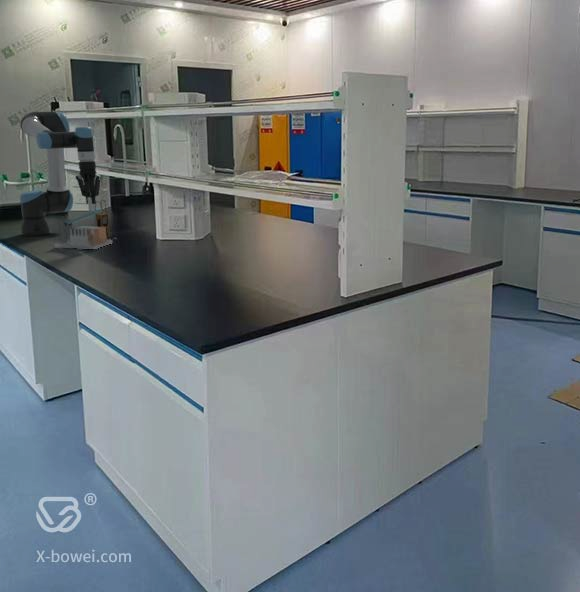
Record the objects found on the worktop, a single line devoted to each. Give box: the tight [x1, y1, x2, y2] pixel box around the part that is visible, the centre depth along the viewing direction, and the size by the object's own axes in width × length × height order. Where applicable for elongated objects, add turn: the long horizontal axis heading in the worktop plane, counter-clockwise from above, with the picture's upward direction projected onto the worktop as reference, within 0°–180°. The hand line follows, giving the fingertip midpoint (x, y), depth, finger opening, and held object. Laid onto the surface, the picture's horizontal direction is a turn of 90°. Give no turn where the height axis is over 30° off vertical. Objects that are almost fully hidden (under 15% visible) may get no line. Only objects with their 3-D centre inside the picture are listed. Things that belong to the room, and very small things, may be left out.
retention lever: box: [64, 208, 102, 227], centre depth 303 cm, size 21×6×2 cm, turn 73°
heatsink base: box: [54, 219, 114, 251], centre depth 305 cm, size 22×16×12 cm
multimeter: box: [95, 199, 117, 240], centre depth 323 cm, size 15×10×20 cm
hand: (92, 210), depth 300 cm, fingers closed
